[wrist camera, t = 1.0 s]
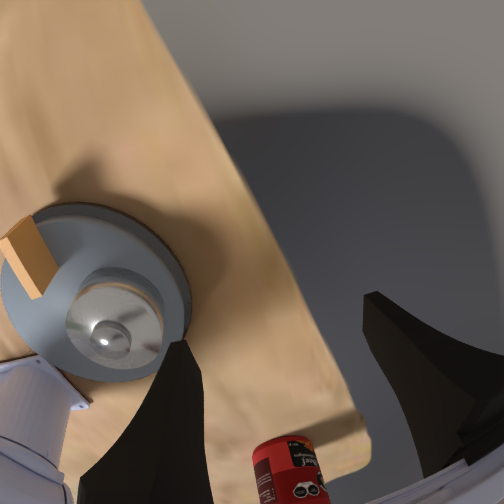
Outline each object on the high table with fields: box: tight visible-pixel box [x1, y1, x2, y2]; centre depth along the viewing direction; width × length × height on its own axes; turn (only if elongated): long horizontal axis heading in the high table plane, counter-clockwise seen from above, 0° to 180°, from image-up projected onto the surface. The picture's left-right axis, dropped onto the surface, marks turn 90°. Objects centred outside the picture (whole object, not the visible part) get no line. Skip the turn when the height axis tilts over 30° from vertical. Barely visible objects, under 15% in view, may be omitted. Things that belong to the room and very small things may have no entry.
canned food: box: [252, 436, 331, 504], centre depth 31 cm, size 8×8×11 cm
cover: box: [65, 267, 165, 369], centre depth 18 cm, size 6×6×4 cm
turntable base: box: [5, 202, 192, 340], centre depth 21 cm, size 15×15×1 cm
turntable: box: [0, 214, 184, 382], centre depth 18 cm, size 15×14×4 cm
